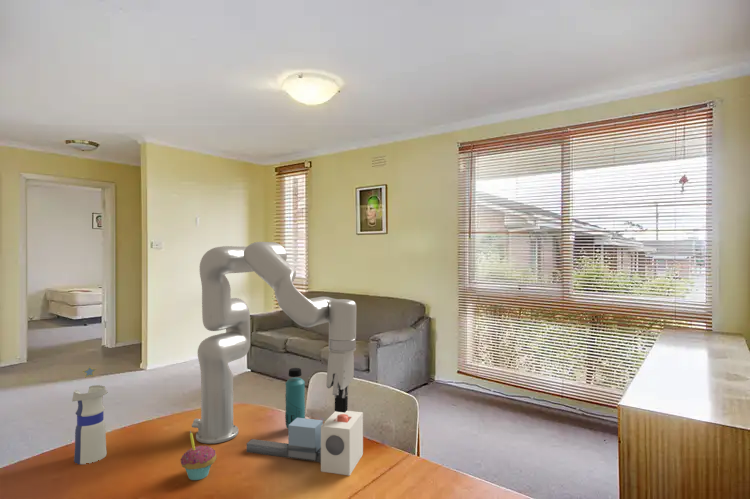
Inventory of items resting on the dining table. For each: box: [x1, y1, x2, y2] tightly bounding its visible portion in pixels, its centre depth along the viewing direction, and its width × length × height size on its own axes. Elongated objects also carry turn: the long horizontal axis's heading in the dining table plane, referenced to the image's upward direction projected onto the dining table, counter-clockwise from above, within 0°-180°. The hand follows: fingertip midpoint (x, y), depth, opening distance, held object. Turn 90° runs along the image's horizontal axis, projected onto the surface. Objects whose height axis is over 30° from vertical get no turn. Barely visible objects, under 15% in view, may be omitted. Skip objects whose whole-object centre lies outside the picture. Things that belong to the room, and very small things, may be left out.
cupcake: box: [180, 430, 217, 481], centre depth 111 cm, size 9×8×12 cm
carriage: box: [287, 417, 324, 460], centre depth 121 cm, size 8×6×9 cm
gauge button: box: [337, 414, 348, 422], centre depth 118 cm, size 3×3×7 cm
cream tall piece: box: [71, 366, 108, 465], centre depth 121 cm, size 8×8×25 cm
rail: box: [245, 438, 321, 463], centre depth 122 cm, size 25×3×2 cm, turn 75°
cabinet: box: [320, 410, 364, 476], centre depth 118 cm, size 8×12×12 cm, turn 165°
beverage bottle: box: [284, 367, 306, 429], centre depth 139 cm, size 6×7×20 cm
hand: (341, 410), depth 118 cm, fingers closed
